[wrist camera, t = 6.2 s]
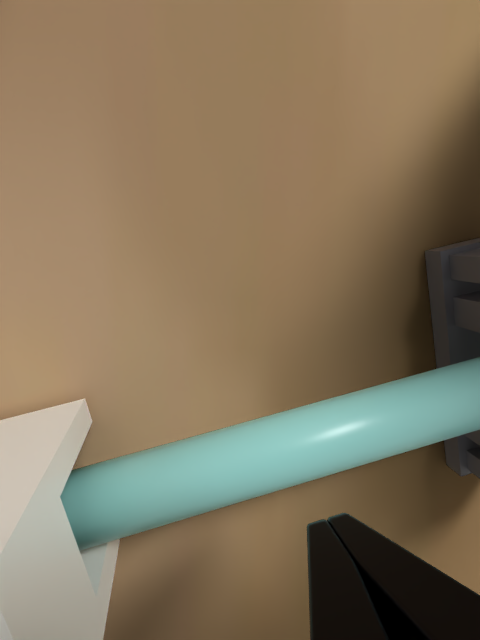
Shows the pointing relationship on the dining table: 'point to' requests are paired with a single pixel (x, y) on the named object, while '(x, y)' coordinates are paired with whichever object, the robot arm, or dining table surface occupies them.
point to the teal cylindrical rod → (269, 453)
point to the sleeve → (47, 533)
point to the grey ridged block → (456, 329)
